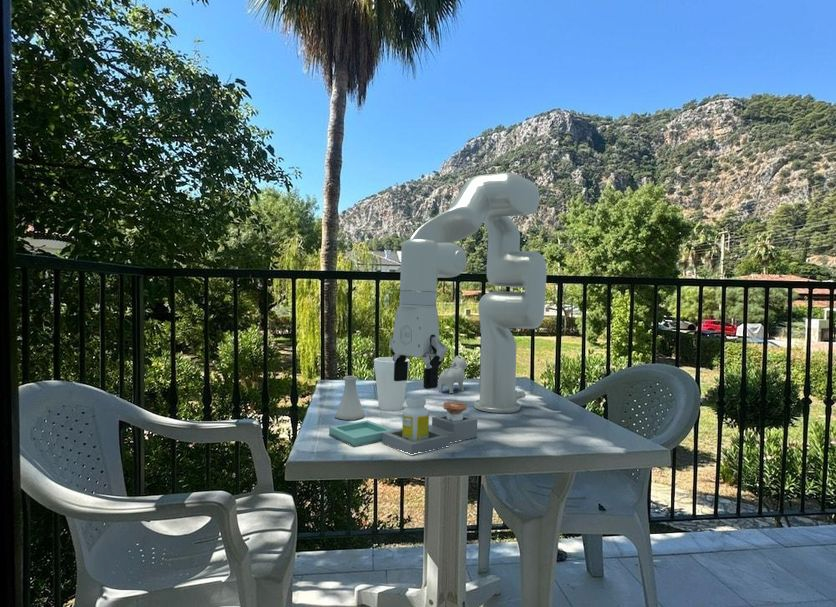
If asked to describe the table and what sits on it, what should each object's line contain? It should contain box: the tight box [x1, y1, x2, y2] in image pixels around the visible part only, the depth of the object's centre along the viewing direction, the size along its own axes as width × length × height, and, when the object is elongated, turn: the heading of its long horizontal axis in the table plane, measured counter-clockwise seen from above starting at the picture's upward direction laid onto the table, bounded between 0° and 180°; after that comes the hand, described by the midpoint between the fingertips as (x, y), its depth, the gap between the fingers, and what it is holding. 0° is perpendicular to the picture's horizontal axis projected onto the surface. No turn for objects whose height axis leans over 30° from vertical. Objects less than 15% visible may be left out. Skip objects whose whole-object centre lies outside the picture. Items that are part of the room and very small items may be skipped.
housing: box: [381, 413, 478, 454], centre depth 110 cm, size 19×10×4 cm, turn 129°
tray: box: [328, 420, 394, 447], centre depth 112 cm, size 10×10×2 cm
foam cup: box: [373, 356, 411, 412], centre depth 139 cm, size 10×9×13 cm
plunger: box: [443, 400, 467, 422], centre depth 114 cm, size 5×5×7 cm
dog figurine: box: [438, 355, 468, 393], centre depth 164 cm, size 5×13×11 cm, turn 147°
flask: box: [334, 375, 365, 421], centre depth 129 cm, size 7×7×10 cm
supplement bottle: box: [401, 395, 430, 442], centre depth 107 cm, size 5×5×10 cm
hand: (415, 384), depth 107 cm, fingers open, 9 cm apart
